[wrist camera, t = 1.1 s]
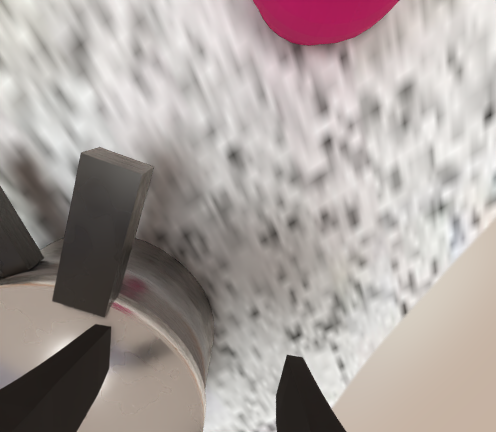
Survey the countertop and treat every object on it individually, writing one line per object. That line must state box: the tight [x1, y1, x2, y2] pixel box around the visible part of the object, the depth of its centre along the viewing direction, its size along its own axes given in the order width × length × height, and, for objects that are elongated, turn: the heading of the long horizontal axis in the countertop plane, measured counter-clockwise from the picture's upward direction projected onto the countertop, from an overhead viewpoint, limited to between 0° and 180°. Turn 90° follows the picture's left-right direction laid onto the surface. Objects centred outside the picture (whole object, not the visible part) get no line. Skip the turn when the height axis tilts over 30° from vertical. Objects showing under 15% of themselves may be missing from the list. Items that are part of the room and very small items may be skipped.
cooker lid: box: [0, 147, 206, 432], centre depth 17 cm, size 22×16×3 cm
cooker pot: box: [0, 186, 214, 388], centre depth 22 cm, size 15×24×6 cm, turn 20°
